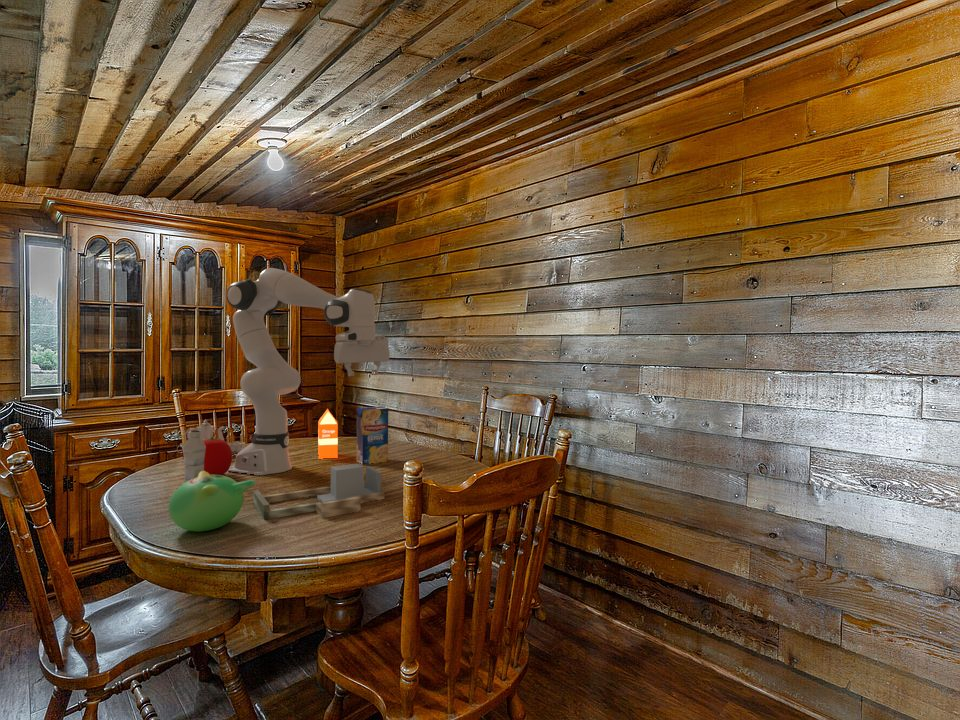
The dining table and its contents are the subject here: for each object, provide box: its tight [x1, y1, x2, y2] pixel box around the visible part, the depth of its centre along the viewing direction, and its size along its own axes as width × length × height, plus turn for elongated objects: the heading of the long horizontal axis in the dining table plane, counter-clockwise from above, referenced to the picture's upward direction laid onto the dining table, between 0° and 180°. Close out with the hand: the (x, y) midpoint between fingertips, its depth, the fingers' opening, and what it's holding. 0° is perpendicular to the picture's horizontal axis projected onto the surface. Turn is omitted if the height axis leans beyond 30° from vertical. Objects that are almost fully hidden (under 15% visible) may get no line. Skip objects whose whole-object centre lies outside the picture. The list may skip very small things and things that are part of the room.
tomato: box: [203, 436, 233, 476], centre depth 188 cm, size 13×11×14 cm
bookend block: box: [316, 462, 382, 503], centre depth 166 cm, size 18×10×10 cm, turn 124°
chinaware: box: [176, 419, 246, 455], centre depth 217 cm, size 28×17×17 cm, turn 98°
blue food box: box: [356, 405, 389, 466], centre depth 213 cm, size 7×11×22 cm, turn 124°
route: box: [252, 480, 385, 521], centre depth 158 cm, size 36×23×4 cm, turn 124°
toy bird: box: [168, 471, 257, 533], centre depth 138 cm, size 18×17×15 cm
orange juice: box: [317, 408, 339, 460], centre depth 221 cm, size 8×9×20 cm
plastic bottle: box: [182, 430, 206, 484], centre depth 167 cm, size 6×7×20 cm
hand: (363, 375), depth 181 cm, fingers open, 8 cm apart
